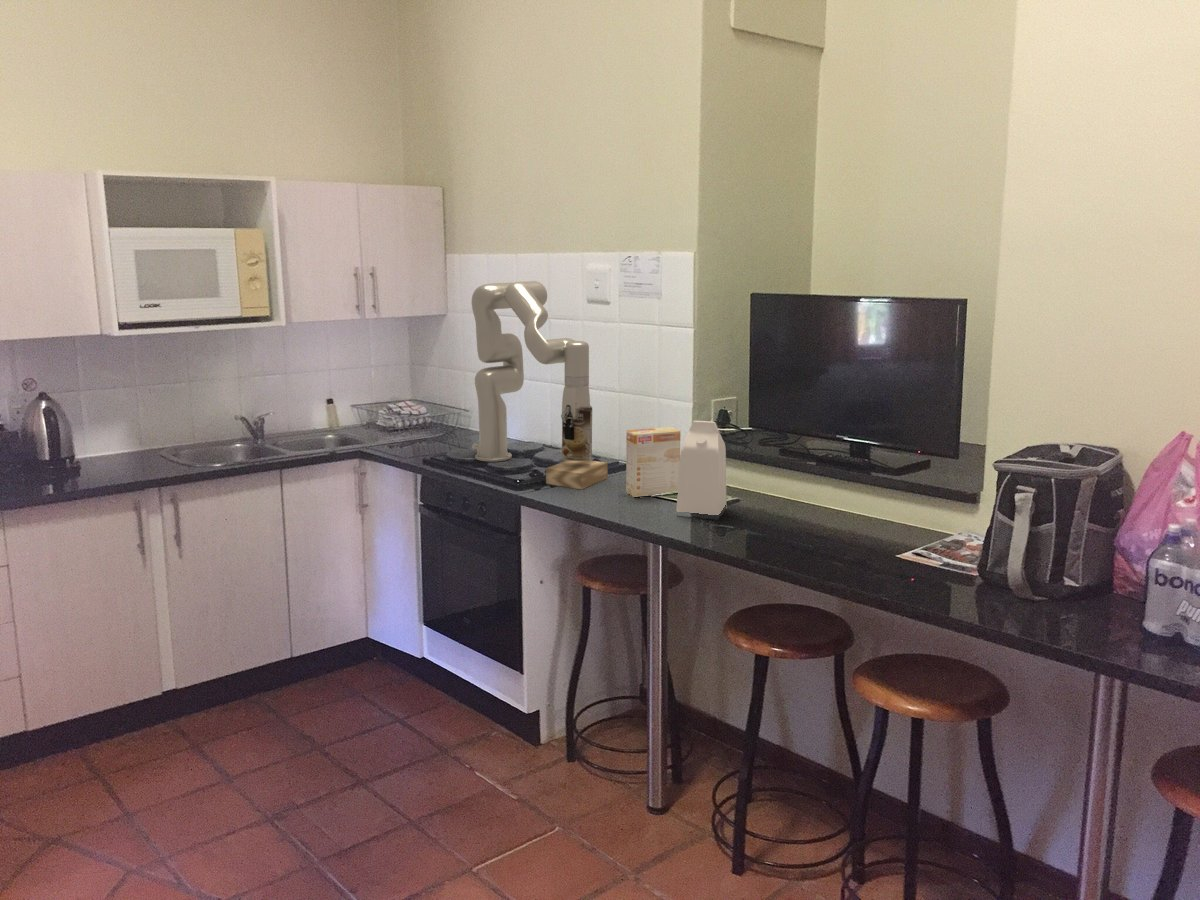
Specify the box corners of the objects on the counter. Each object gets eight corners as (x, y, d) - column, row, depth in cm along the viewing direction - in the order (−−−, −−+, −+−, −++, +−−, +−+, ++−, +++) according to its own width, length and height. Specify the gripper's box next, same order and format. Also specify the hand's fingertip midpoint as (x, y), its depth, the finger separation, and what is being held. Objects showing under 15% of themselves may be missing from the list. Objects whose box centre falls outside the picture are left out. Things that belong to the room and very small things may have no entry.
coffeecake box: (671, 488, 296) (672, 426, 292) (680, 494, 290) (681, 430, 285) (625, 492, 291) (625, 429, 287) (633, 498, 285) (634, 434, 280)
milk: (726, 508, 275) (729, 419, 269) (718, 520, 264) (721, 426, 258) (685, 505, 278) (687, 416, 273) (675, 516, 268) (677, 424, 262)
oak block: (546, 483, 301) (545, 468, 300) (572, 472, 315) (572, 458, 313) (581, 489, 295) (581, 473, 294) (607, 478, 308) (607, 462, 307)
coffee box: (561, 460, 300) (560, 409, 297) (563, 456, 307) (563, 406, 303) (590, 461, 300) (590, 410, 296) (592, 456, 306) (592, 406, 302)
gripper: (580, 376, 307) (580, 430, 311) (551, 384, 292) (551, 440, 296) (601, 378, 303) (601, 433, 307) (572, 386, 288) (572, 443, 292)
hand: (576, 436), depth 301 cm, fingers closed on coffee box, 8 cm apart
